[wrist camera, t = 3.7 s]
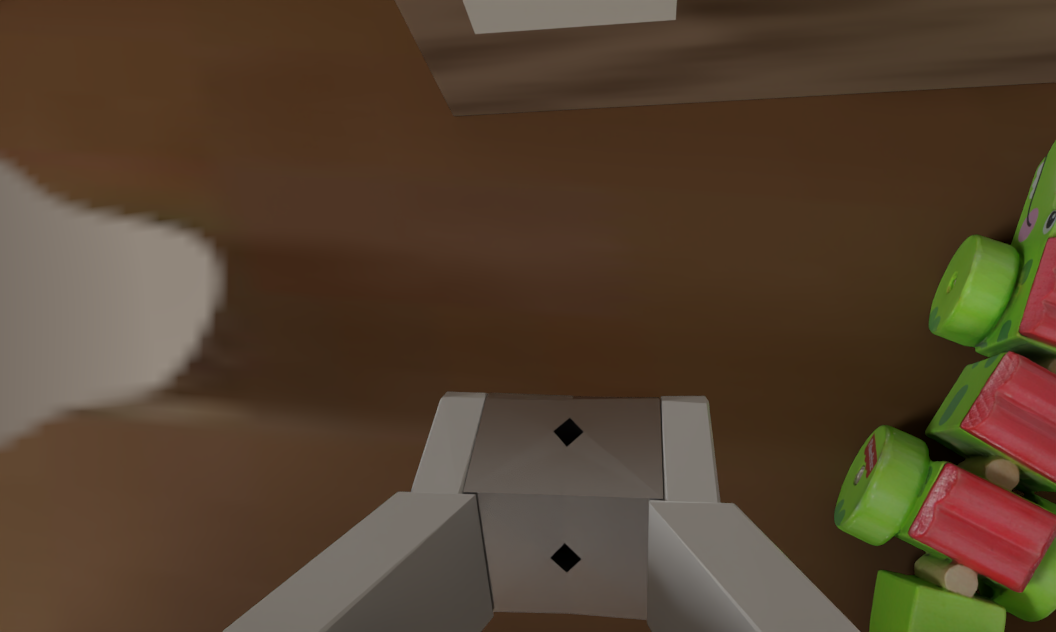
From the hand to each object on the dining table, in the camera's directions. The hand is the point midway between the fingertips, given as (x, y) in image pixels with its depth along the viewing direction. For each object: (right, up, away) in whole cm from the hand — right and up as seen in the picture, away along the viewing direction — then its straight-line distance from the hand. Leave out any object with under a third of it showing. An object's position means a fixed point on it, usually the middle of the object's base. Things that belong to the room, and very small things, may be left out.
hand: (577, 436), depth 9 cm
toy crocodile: (+15, -2, +19) cm, 24 cm away
